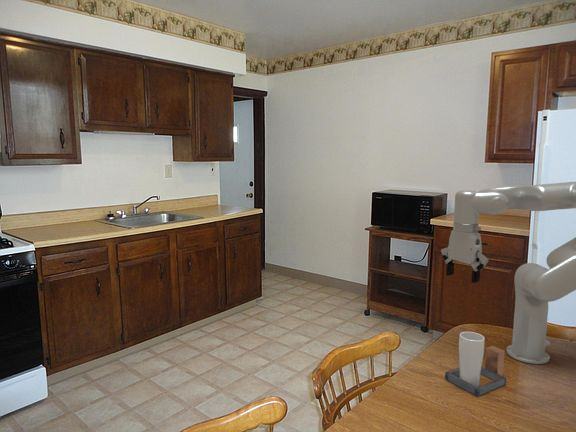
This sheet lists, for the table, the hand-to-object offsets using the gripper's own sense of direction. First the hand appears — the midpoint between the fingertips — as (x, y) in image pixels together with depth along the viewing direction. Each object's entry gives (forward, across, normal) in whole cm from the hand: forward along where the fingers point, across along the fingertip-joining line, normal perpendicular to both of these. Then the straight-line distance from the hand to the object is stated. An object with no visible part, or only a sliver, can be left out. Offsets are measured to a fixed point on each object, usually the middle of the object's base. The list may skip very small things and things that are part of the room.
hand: (462, 278), depth 138 cm
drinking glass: (+26, -15, +15) cm, 34 cm away
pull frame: (+26, -15, +10) cm, 32 cm away
